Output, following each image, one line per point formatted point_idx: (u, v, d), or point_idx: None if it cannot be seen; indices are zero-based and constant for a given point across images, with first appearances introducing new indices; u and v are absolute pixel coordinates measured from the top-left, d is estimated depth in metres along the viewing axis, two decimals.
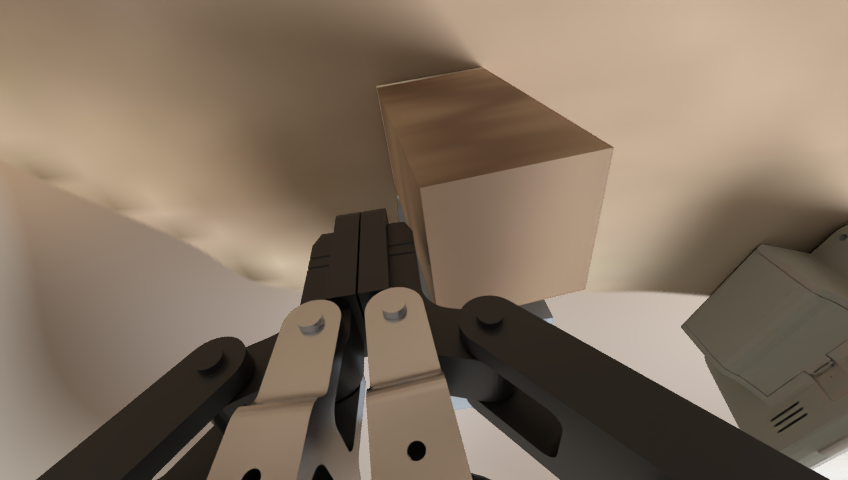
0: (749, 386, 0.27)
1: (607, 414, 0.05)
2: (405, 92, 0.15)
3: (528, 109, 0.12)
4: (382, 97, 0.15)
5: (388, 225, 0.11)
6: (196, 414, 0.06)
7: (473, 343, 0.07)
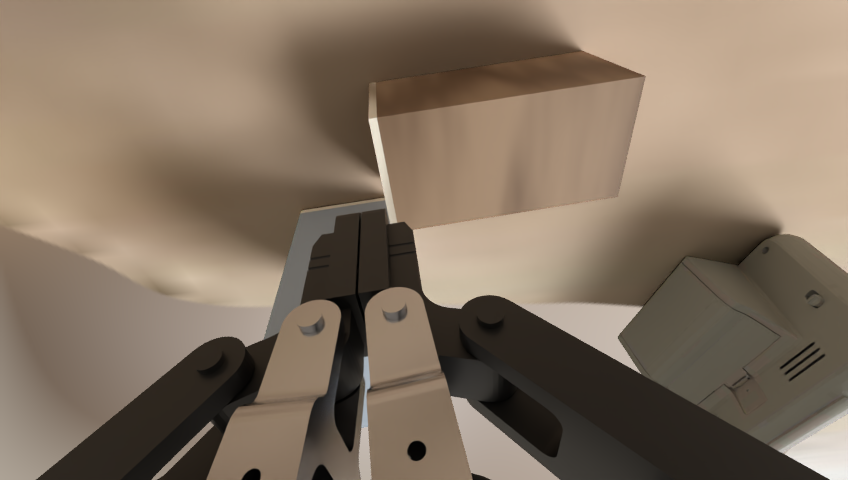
0: None
1: (607, 414, 0.05)
2: (417, 102, 0.14)
3: (509, 65, 0.17)
4: (423, 110, 0.13)
5: (388, 225, 0.11)
6: (196, 414, 0.06)
7: (473, 343, 0.07)
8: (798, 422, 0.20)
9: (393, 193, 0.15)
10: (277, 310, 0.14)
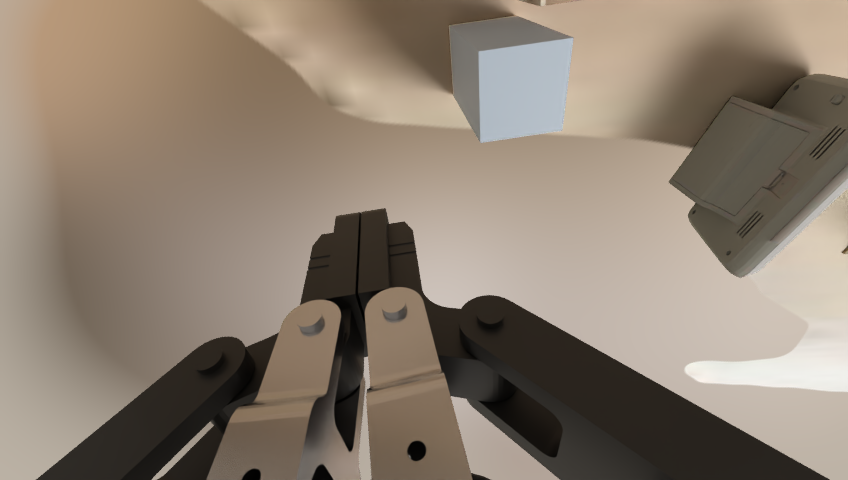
0: (721, 211, 0.33)
1: (607, 414, 0.05)
2: None
3: None
4: None
5: (388, 225, 0.11)
6: (195, 414, 0.06)
7: (473, 343, 0.07)
8: (823, 186, 0.27)
9: None
10: (472, 42, 0.21)
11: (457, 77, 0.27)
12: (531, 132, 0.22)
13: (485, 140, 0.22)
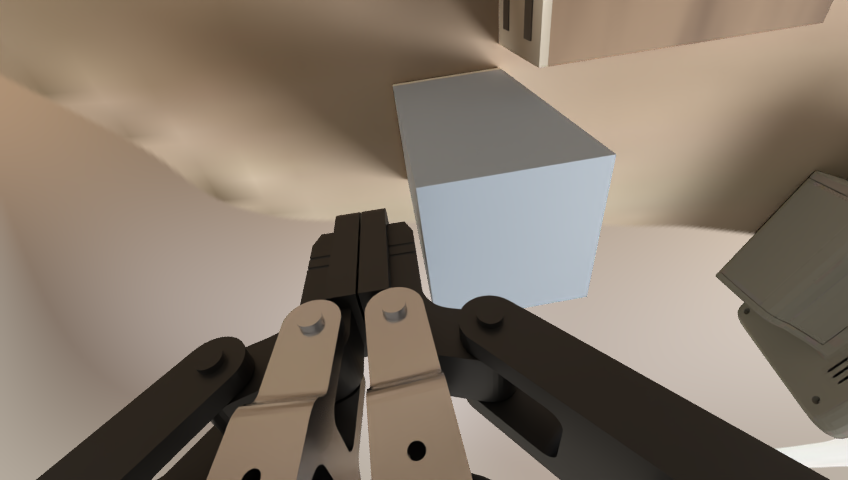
0: (800, 334, 0.23)
1: (607, 414, 0.05)
2: None
3: None
4: None
5: (388, 225, 0.11)
6: (196, 414, 0.06)
7: (473, 343, 0.07)
8: None
9: (554, 0, 0.11)
10: (414, 146, 0.11)
11: (407, 169, 0.17)
12: (530, 303, 0.12)
13: None
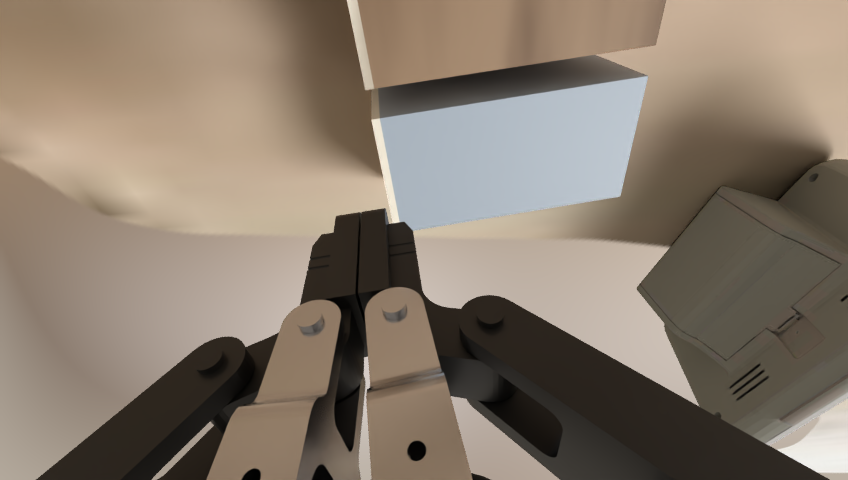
0: (707, 350, 0.23)
1: (607, 414, 0.05)
2: None
3: None
4: None
5: (388, 225, 0.11)
6: (196, 414, 0.06)
7: (473, 343, 0.07)
8: None
9: (364, 23, 0.11)
10: (576, 85, 0.13)
11: (453, 182, 0.15)
12: None
13: None
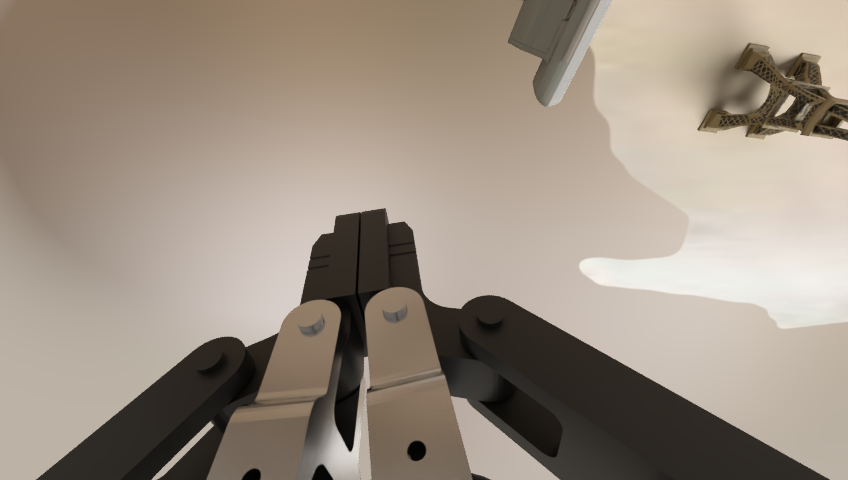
0: (537, 53, 0.37)
1: (607, 414, 0.05)
2: None
3: None
4: None
5: (388, 225, 0.11)
6: (196, 414, 0.06)
7: (473, 343, 0.07)
8: None
9: None
10: None
11: None
12: None
13: None
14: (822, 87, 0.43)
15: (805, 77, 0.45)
